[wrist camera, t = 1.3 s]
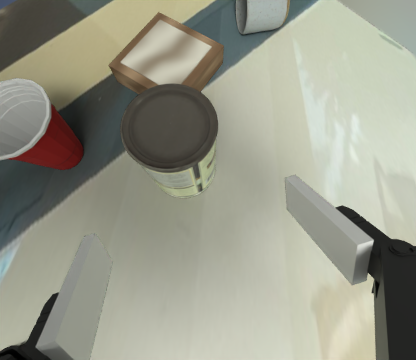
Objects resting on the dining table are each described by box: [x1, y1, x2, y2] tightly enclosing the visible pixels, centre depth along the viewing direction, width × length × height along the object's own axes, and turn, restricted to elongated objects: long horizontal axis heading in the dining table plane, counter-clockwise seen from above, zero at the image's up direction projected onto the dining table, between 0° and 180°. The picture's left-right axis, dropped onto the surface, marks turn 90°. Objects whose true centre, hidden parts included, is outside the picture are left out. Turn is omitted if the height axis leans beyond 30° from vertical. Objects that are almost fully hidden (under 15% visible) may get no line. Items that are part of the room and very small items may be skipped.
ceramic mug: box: [236, 0, 290, 34], centre depth 43 cm, size 11×8×8 cm
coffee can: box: [120, 84, 218, 198], centre depth 31 cm, size 10×10×14 cm
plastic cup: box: [0, 78, 83, 170], centre depth 33 cm, size 11×11×12 cm
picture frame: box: [109, 12, 224, 94], centre depth 41 cm, size 14×14×4 cm
